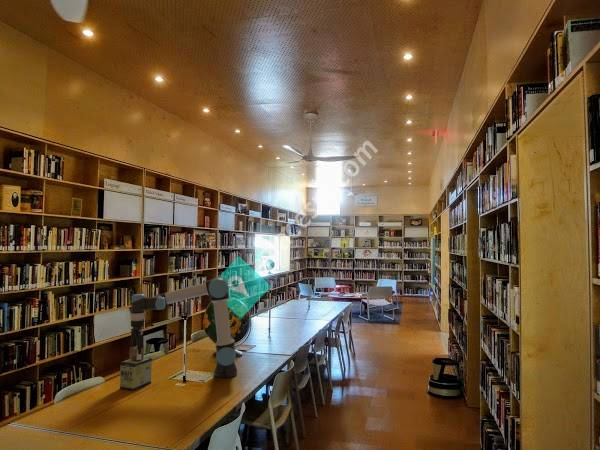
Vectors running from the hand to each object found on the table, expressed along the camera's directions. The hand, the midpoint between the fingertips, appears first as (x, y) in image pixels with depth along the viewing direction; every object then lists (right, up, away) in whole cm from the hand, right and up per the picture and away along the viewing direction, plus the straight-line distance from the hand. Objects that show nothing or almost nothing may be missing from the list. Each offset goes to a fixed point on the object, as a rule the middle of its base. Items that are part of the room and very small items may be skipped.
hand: (136, 358), depth 248 cm
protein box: (0, -17, -1) cm, 17 cm away
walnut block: (0, 0, 0) cm, 0 cm away
